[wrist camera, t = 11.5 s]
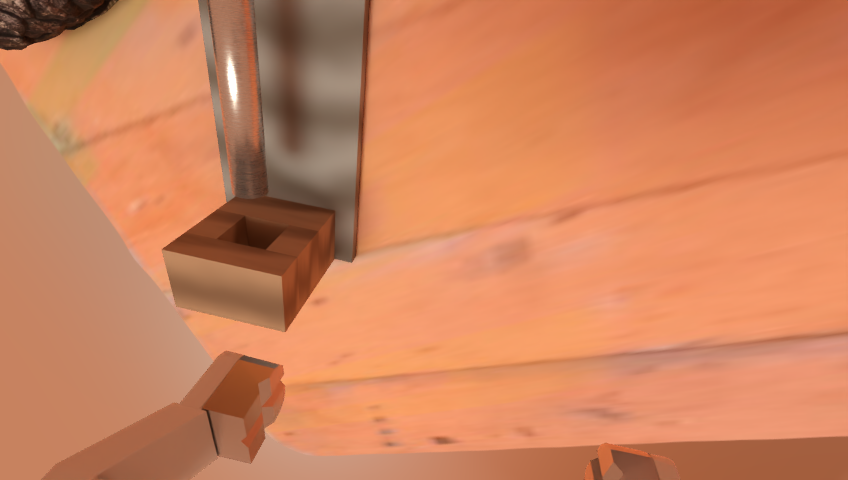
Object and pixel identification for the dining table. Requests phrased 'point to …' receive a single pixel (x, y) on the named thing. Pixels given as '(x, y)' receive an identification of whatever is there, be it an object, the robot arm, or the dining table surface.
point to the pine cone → (44, 19)
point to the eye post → (285, 169)
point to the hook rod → (240, 94)
